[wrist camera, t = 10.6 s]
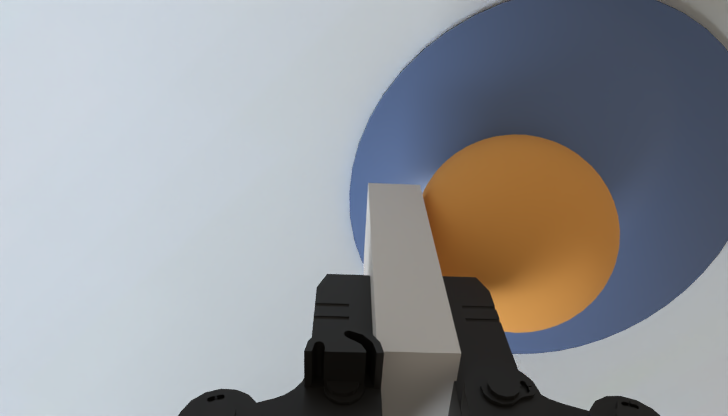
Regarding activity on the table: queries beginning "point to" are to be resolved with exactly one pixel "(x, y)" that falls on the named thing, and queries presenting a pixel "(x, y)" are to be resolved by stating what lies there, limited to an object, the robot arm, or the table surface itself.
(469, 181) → the ball
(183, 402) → the table surface
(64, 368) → the table surface
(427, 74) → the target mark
